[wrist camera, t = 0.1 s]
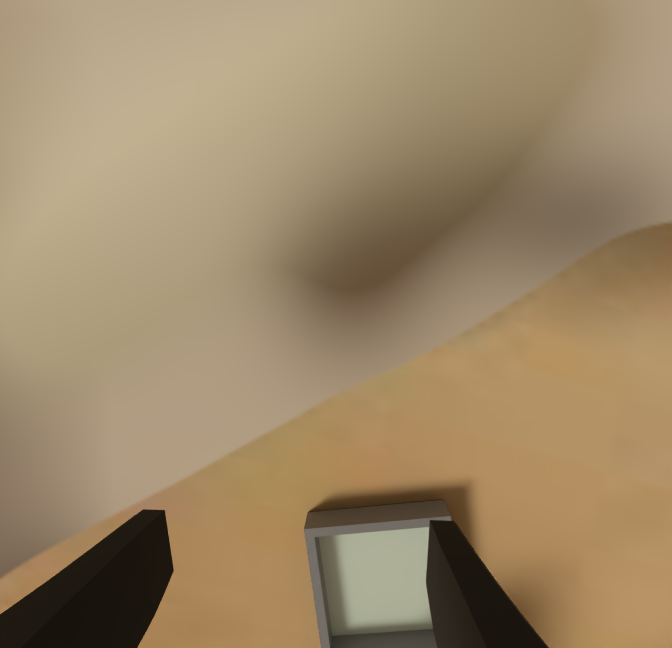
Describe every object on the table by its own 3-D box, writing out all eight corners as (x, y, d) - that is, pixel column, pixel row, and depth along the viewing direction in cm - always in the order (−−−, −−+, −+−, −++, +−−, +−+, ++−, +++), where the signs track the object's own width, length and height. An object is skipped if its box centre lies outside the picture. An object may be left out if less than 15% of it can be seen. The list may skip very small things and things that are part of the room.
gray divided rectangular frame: (472, 743, 20) (481, 778, 19) (341, 750, 21) (341, 784, 20) (443, 499, 20) (450, 515, 18) (307, 512, 20) (304, 529, 19)
